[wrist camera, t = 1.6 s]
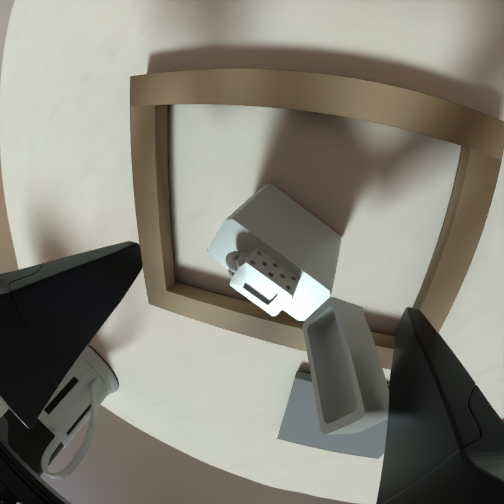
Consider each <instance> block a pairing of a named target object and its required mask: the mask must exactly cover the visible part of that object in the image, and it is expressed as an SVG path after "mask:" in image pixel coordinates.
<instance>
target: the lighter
mask: <svg viewBox="0 0 504 504" xmlns="http://www.w3.org/2000/svg"><path fill="white" fill-rule="evenodd" d="M340 244H341V236H340V235H339V234H338V233H336V232H335V231H334V230H332V229H331V228H330V227H329V226H327V225H326V224H325V223H323V222H322V221H321V220H319V219H318V218H317V217H315V216H314V215H313V214H312V213H310V212H309V211H308V210H306V209H305V208H304V207H302V206H301V205H300V204H298V203H297V202H295V201H294V200H293V199H291V198H290V197H289V196H287V195H286V194H285V193H283V192H282V191H280V190H279V189H278V188H276V187H275V186H274V185H272V184H271V183H270V184H265V185H264V186H263V187H262V188H260V189H259V190H258V191H257V192H256V193H255V194H254V195H253V196H251V197H250V198H249V199H248V200H247V201H246V202H245V203H244V204H242V205H241V206H240V207H239V208H238V209H237V210H236V211H235V212H234V213H232V214H231V215H230V216H229V217H228V218H227V219H226V220H225V222H224V223H223V225H222V226H221V228H220V230H219V231H218V233H217V235H216V236H215V238H214V239H213V241H212V243H211V244H210V246H209V248H208V249H207V250H208V254H209V256H210V257H211V258H212V259H214V260H215V261H216V262H218V263H219V264H220V265H222V266H223V267H225V268H226V269H227V270H228V271H229V274H230V276H231V281H230V286H231V287H233V288H234V289H235V290H237V291H238V292H239V293H241V294H242V295H244V296H245V297H246V298H248V299H249V300H250V301H252V302H253V303H255V304H256V305H257V306H259V307H260V308H262V309H263V310H264V311H266V312H267V313H269V314H270V315H271V316H276V315H277V314H278V313H279V312H280V311H281V310H284V311H285V312H287V313H288V314H289V315H291V316H292V317H294V318H295V319H297V320H298V321H304V324H303V327H302V328H303V333H304V338H305V344H306V349H307V355H308V360H309V366H310V371H311V377H312V383H313V388H314V394H315V400H316V406H317V412H318V418H319V425H320V431H321V432H322V433H324V434H325V435H336V434H354V433H358V432H361V431H363V430H365V429H367V428H370V427H372V426H374V425H376V424H378V423H380V422H382V421H385V420H387V419H388V407H389V389H388V386H387V382H386V379H385V376H384V372H383V369H382V366H381V362H380V359H379V356H378V353H377V350H376V346H375V343H374V340H373V337H372V334H371V331H370V328H369V325H368V322H367V319H366V316H365V314H364V311H363V308H362V307H360V306H357V305H354V304H351V303H348V302H346V301H343V300H340V299H337V298H334V297H331V293H332V288H333V282H334V277H335V272H336V267H337V261H338V256H339V250H340Z"/></svg>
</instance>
